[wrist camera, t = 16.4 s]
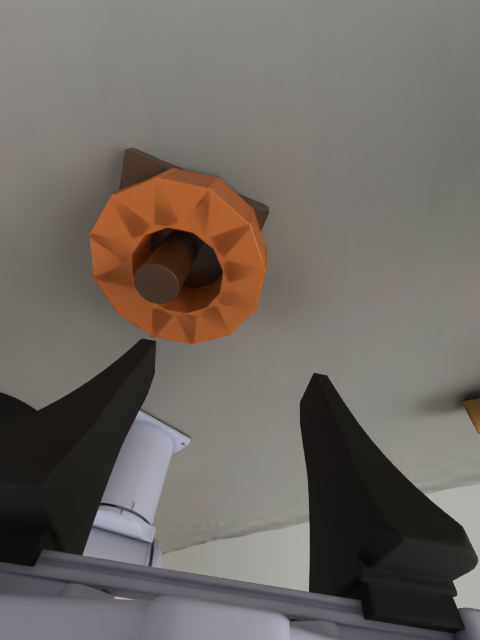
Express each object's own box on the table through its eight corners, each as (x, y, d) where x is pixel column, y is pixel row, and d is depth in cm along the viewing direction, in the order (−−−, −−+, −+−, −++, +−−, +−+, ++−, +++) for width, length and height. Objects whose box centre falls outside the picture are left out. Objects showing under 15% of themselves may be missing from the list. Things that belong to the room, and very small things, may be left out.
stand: (222, 313, 24) (210, 369, 19) (112, 273, 23) (65, 320, 17) (269, 207, 19) (270, 240, 14) (132, 147, 18) (75, 158, 12)
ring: (205, 337, 24) (197, 366, 21) (90, 258, 21) (62, 279, 18) (296, 247, 19) (301, 268, 17) (166, 127, 16) (145, 128, 13)
